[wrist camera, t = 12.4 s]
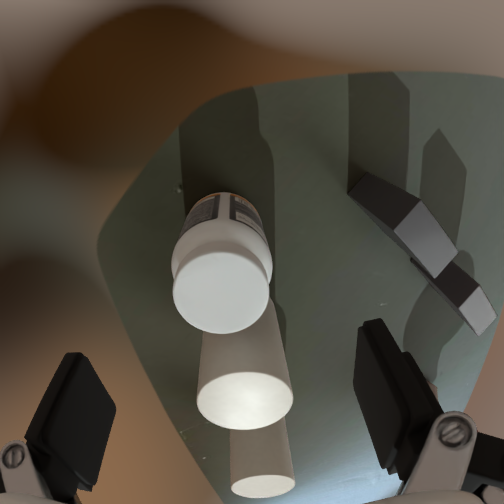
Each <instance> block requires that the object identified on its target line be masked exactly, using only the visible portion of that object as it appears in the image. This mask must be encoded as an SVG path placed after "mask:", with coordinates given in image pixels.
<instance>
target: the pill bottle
mask: <svg viewBox="0 0 504 504" xmlns="http://www.w3.org/2000/svg"><path fill="white" fill-rule="evenodd" d="M272 268H273V266H272V257H271V253H270V250H269V247H268V243H267V240H266V237H265V233H264V229H263V225H262V222H261V219H260V217H259V214H258V212H257V211H256V209H255V208H254V206H253V205H252V204H251V203H250V202H249V201H247V200H246V199H245V198H243V197H241V196H239V195H236V194H233V193H227V192H219V193H214V194H210V195H208V196H206V197H204V198H202V199H201V200H199V201H198V202H197V203H196V204H195V205H194V206H193V207H192V209H191V210H190V212H189V214H188V216H187V218H186V220H185V223H184V225H183V228H182V230H181V233H180V235H179V238H178V240H177V243H176V245H175V248H174V251H173V255H172V273H173V278H174V283H173V299H174V302H175V305H176V308H177V309H178V311H179V313H180V314H181V315H182V317H183V318H184V319H185V320H186V321H187V322H188V323H190V324H191V325H193V326H194V327H196V328H198V329H200V330H203V331H206V332H210V333H217V334H227V333H233V332H237V331H240V330H243V329H245V328H247V327H249V326H250V325H252V324H253V323H254V322H255V321H257V320H258V319H259V318H260V316H261V315H262V314H263V312H264V310H265V308H266V306H267V303H268V299H269V283H270V280H271V276H272Z"/></svg>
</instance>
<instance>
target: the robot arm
mask: <svg viewBox="0 0 504 504" xmlns="http://www.w3.org/2000/svg"><path fill="white" fill-rule="evenodd" d="M353 386H354V391H355V394H356V396H357V399H358V402H359V405H360V408H361V410H362V413H363V416H364V419H365V422H366V425H367V428H368V431H369V434H370V436H371V439H372V442H373V445H374V448H375V451H376V454H377V457H378V460H379V464H380V466H381V468H382V469H385V468H387V471H388V474H389V475H391V474H394V473H398V476H399V479H400V480H402V483H401V485H400V487H399V489H398V491H397V493H396V495H395V496H394V497H390V498H386V499H382V500H377V501H373V502H369V503H364V504H504V439H500V438H496V437H493V436H490V435H486V434H483V433H480V432H477V427H476V424H475V422H474V421H473V419H472V418H471V417H470V416H468V415H467V414H465V413H462V412H459V411H450V412H446V413H444V412H443V410H442V408H441V406H440V404H439V402H438V401H437V399H436V397H435V395H434V393H433V392H432V390H431V388H430V386H429V384H428V383H427V381H426V379H425V377H424V376H423V374H422V372H421V370H420V369H419V367H418V365H417V363H416V362H415V360H414V358H413V357H412V355H411V354H410V353H409V352H403V353H402V352H401V350H400V349H399V347H398V345H397V344H396V342H395V340H394V338H393V337H392V335H391V333H390V332H389V330H388V328H387V326H386V325H385V323H384V321H383V320H382V319H381V318H379V319H374V320H369V321H365V322H364V323H363V326H361V327H359V328H358V337H357V349H356V359H355V369H354V378H353ZM115 414H116V406H115V403H114V402H113V400H112V399H111V397H110V395H109V394H108V392H107V390H106V389H105V387H104V385H103V384H102V382H101V380H100V379H99V377H98V375H97V374H96V372H95V370H94V368H93V367H92V365H91V363H90V361H89V359H88V358H87V357H86V356H84V355H83V354H82V353H80V352H75V353H66V354H65V356H64V358H63V360H62V361H61V364H60V365H59V367H58V369H57V371H56V373H55V374H54V377H53V378H52V380H51V382H50V384H49V386H48V388H47V390H46V392H45V394H44V396H43V398H42V400H41V402H40V404H39V406H38V408H37V411H36V413H35V414H34V417H33V419H32V421H31V423H30V425H29V427H28V430H27V432H26V434H25V436H24V438H25V439H26V440H27V442H26V444H25V443H24V442H23V441H20V440H13V441H10V442H9V443H7V444H6V445H5V446H4V447H3V448H2V450H1V452H0V504H82V503H81V501H80V499H79V497H78V496H77V493H76V491H77V488H78V489H80V490H85V491H90V492H91V491H92V487H93V485H95V484H96V482H97V479H98V475H99V471H100V467H101V463H102V459H103V456H104V452H105V448H106V445H107V441H108V438H109V434H110V431H111V427H112V424H113V420H114V417H115Z"/></svg>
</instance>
